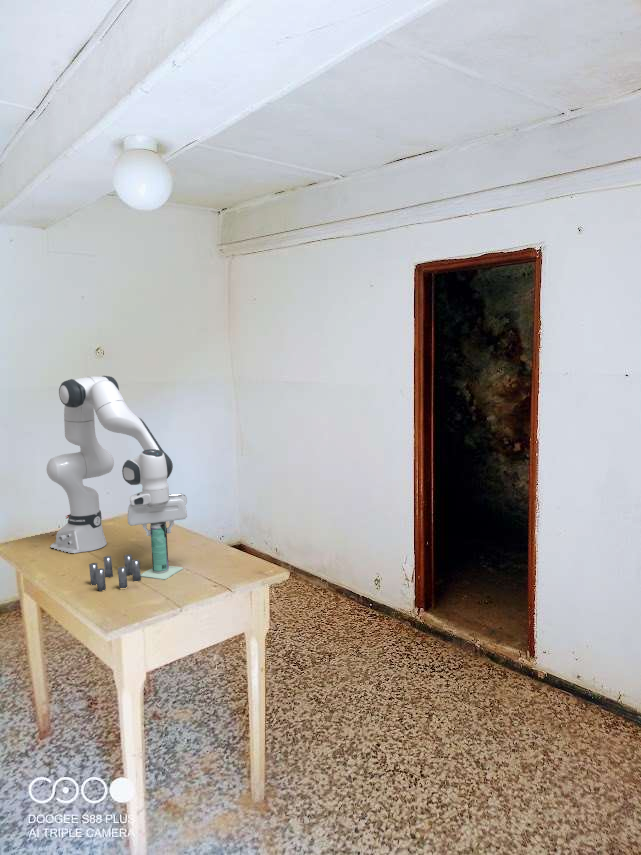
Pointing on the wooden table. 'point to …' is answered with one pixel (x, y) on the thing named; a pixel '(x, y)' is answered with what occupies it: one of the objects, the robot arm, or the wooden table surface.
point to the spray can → (159, 547)
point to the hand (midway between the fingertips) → (158, 534)
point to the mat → (161, 576)
